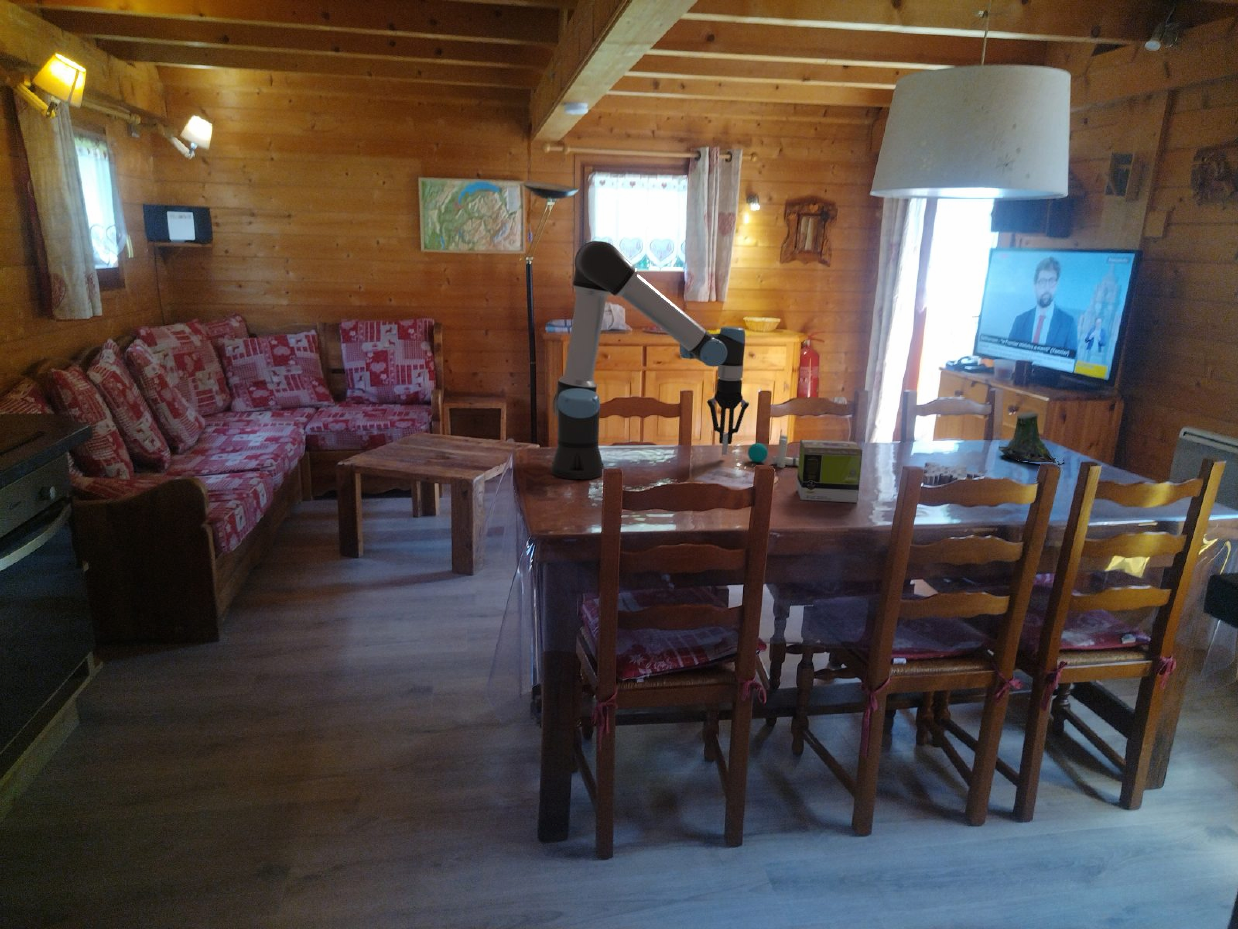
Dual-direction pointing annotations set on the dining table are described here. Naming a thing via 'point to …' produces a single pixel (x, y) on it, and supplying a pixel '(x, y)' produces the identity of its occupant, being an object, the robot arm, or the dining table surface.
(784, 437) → the pin
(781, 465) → the pin
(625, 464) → the dining table surface
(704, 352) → the robot arm
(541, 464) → the dining table surface
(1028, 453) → the tree stump
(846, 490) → the tea box
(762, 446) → the ball
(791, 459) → the front pin
